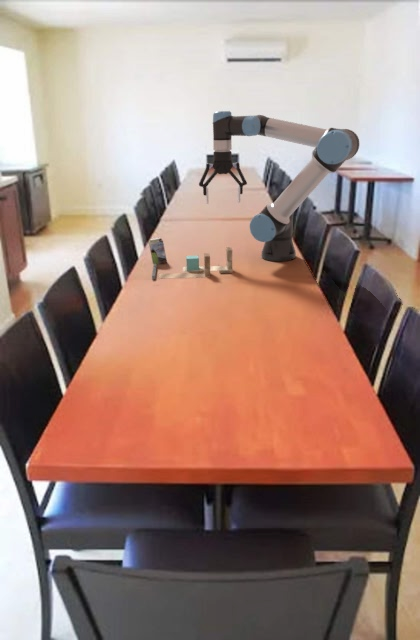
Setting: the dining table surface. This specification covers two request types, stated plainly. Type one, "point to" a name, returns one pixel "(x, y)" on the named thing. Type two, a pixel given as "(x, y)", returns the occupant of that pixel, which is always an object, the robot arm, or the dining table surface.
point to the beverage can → (157, 251)
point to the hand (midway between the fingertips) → (223, 202)
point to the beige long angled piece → (219, 268)
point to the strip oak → (191, 275)
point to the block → (192, 263)
